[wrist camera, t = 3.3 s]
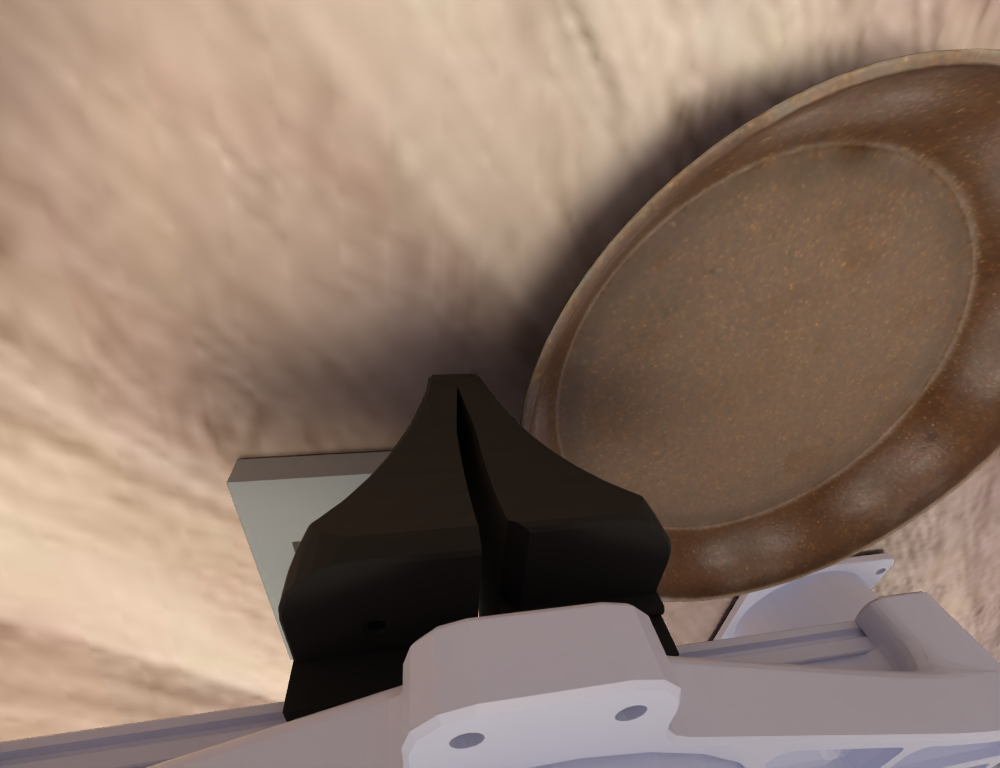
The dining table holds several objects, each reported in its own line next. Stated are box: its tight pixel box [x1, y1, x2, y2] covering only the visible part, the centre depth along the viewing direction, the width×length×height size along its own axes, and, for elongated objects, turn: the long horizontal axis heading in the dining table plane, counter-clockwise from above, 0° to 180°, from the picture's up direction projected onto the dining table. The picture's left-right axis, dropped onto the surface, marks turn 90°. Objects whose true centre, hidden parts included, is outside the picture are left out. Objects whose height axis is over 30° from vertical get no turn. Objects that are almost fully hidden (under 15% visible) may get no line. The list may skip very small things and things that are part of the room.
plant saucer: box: [520, 49, 1000, 602], centre depth 14 cm, size 18×18×3 cm
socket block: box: [227, 451, 391, 660], centre depth 17 cm, size 10×7×1 cm
